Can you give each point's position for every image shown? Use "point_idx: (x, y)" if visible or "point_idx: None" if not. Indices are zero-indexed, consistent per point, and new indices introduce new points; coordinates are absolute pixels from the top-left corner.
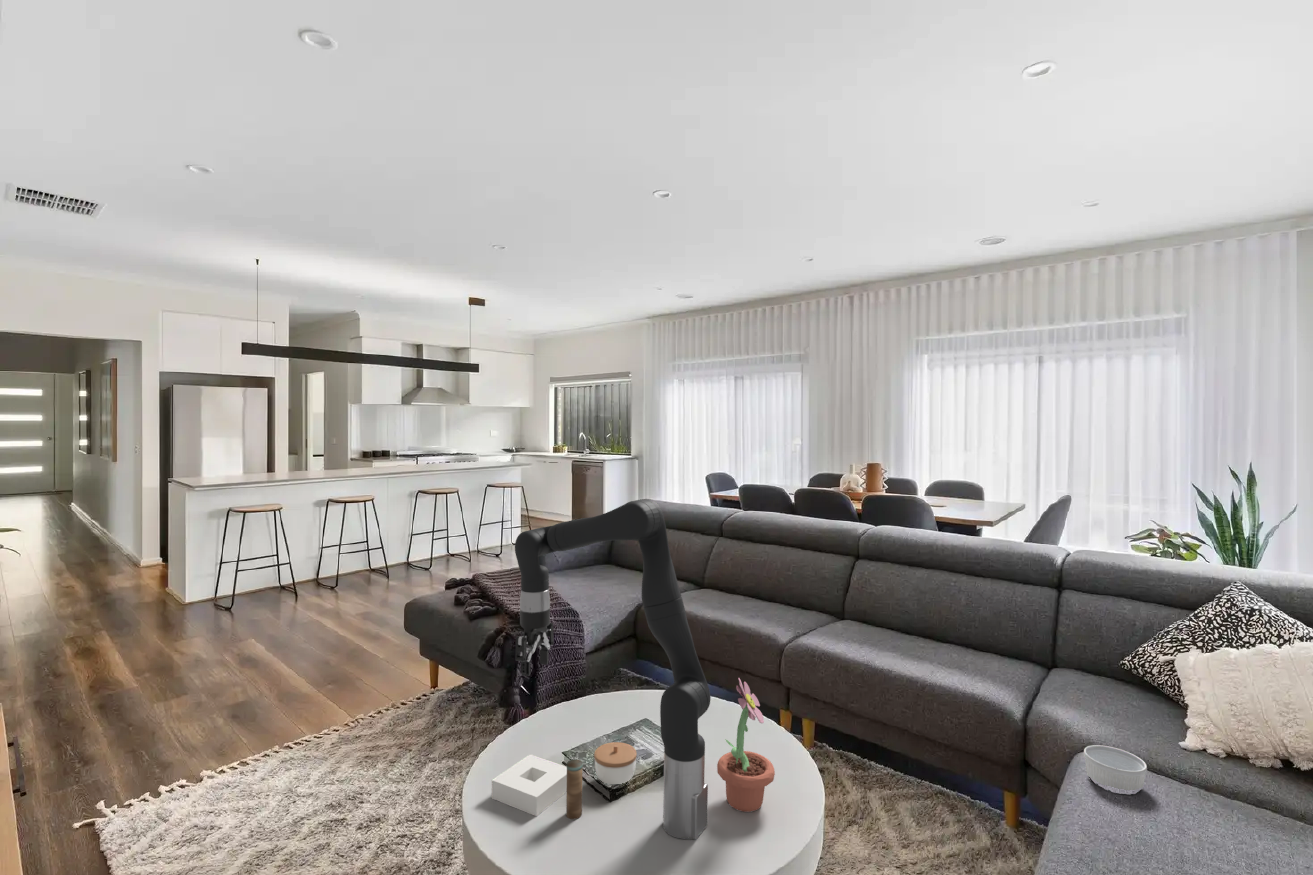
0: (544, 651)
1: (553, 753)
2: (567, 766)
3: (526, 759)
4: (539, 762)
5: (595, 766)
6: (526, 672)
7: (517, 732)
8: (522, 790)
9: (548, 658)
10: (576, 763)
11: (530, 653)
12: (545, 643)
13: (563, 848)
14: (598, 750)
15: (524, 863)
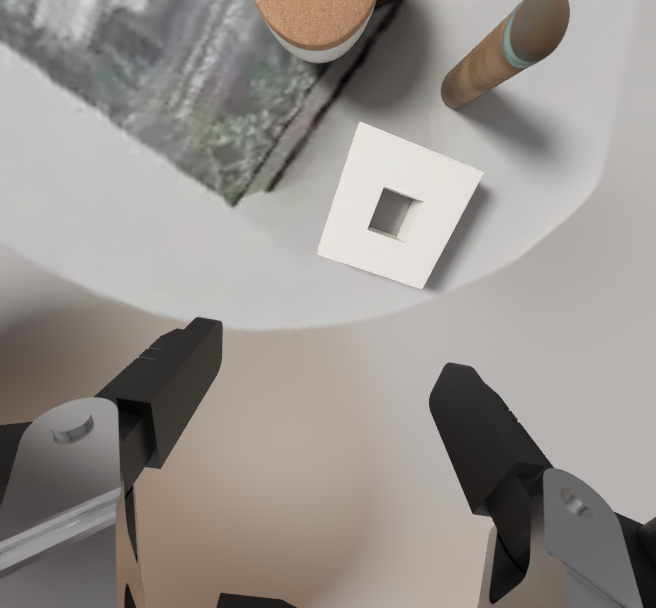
0: (159, 419)
1: (244, 223)
2: (551, 52)
3: (338, 253)
4: (345, 220)
5: (346, 47)
6: (494, 395)
7: None
8: (457, 215)
9: (159, 338)
10: (537, 18)
11: (603, 585)
12: (121, 565)
13: (575, 69)
14: (317, 29)
15: (606, 140)
